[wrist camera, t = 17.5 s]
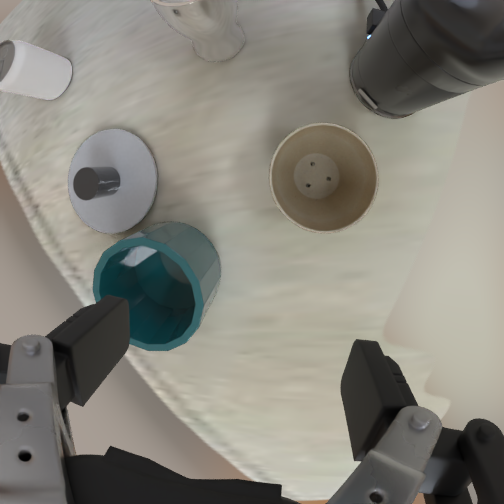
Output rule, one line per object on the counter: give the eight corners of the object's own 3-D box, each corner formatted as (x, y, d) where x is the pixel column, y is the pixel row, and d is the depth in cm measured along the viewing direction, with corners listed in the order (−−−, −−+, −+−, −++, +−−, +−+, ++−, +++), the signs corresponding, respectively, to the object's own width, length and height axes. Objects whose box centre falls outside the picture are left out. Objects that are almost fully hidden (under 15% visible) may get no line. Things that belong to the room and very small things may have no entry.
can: (79, 57, 32) (23, 32, 21) (67, 101, 34) (6, 87, 22) (47, 59, 33) (-8, 40, 21) (36, 100, 34) (-23, 91, 23)
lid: (67, 144, 36) (38, 142, 30) (152, 118, 34) (129, 110, 28) (81, 237, 38) (54, 249, 32) (167, 224, 37) (147, 234, 31)
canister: (123, 228, 38) (81, 246, 28) (212, 215, 36) (190, 230, 27) (142, 314, 40) (111, 350, 31) (228, 309, 39) (213, 349, 30)
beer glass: (223, 76, 32) (188, 21, 18) (178, 49, 32) (124, -7, 17) (260, 33, 31) (248, -39, 16) (214, 8, 30) (180, -62, 16)
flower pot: (254, 192, 35) (248, 197, 28) (299, 115, 33) (304, 102, 26) (331, 237, 36) (342, 253, 29) (375, 163, 33) (397, 161, 26)
